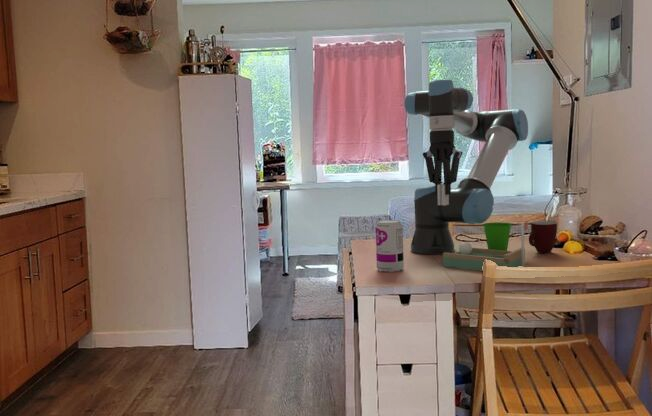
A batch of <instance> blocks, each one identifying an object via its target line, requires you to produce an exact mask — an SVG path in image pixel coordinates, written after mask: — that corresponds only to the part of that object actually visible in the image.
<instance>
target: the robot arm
mask: <svg viewBox="0 0 652 416" xmlns="http://www.w3.org/2000/svg"><path fill="white" fill-rule="evenodd" d="M473 102H474V96H473V93H472V92H471V91H470V90H469V89H467V88H463V87H455V86H454V82H453V80H452V79H449V78H447V79H446V78H442V79H441V78H440V79H434V80H431V81H429V82H428V90H422V91H421V90H420V91H414V92H409V93H408V94H406V95H405V97H404V109H405V111H406V113H407V114H408V115H410V116H411V115H415V116H416V115H422V116H424V117H427V118H429V120H428V121H429V129H430V130H431V131H429V144H430V146H429V149H428V150H427V151H426V152H422V156H423V159H424V160H425V164H426V170H427V174H428V180H429V181H428V182H429V183H432V184H434V185H430V186H429V185H428V186H422V187H419V188H418V187H417V188H415V191H414V198H413V199H414V200H413V202H414V227H415V228H414V230H415V231H414V233H413V236H412V240H411V242H410V252H412V253H415V254H421V255H441V254H442V255H443V253H444V252H445V253H454V252H455V243H454V241H453V237H452V234H451V231H450V227H449V226H450V225H449V223H457V224H459V223H460V224H468V225H476V224H479V225H480V224H485V223H486V222H487V221H488V220H489V219H490V217H491V215H492V213H493V210H494V205H495V202H494V201H495V200H494V199H495V198H494V195H493V193H492V190H491V187H492V186H493V183H494V182H495V180H496V177H497V176H498V175H497V174H498V173H499V171H500V169H501V167H502V165H503V163H504V161H505V159H506V156H507V155H508V152H509V151H511V150H513V149H514V148H515V147H516V145H517V144H518V142H520V141H521V142H523V141H526V140H527V139H528V136H529V121H528V117H527V115H526V113H525V111H524V110H523V109H519V108H517V109H516V108H515V109H514V108H512V109H502V110H501V109H499V110H490V111H489V110H488V111H472V110H469V109H470V108H472V107H471V106H472V105H473ZM453 129H454V130H455V131H456V133H457V134H459V135H460V136H463V137H465V138H468V139H471V140H473V141H478V142H483V143H484V145H483V146H482V149H481V150H480V152H479V154H478V156H477V158H476V160H475V162H474V164H473V166H472V167H471V170H470V172H469V174H468V175H467V177H466V178H463V179H462V180H460V181H459V182H458V185H457V187H456V188H452V186H451V185H452V184H453V183H456V182H457V178H458V173H459V166H460V159H461V157H462V155H463V151H461V150H457V149H456V146H455V145H454V144H455V143H454V142H455V131H454V130H453ZM451 157H452V158H451ZM442 172H443V175H442ZM442 176H443V177H442ZM442 179H443V180H442Z"/></svg>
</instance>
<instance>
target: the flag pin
mask: <svg viewBox="0 0 652 416" xmlns="http://www.w3.org/2000/svg"><path fill="white" fill-rule="evenodd" d="M520 226H521V228H520V229H521V234H520V235H521V236H520V237H521V239H520V240H521V241H520V242H521V245H520V246H521V247H520V248H521V249H522V266H523V267H526V263H525V264H524V249H525V231H526V230H528V221H525V222H521V224H520Z"/></svg>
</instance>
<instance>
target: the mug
mask: <svg viewBox="0 0 652 416" xmlns="http://www.w3.org/2000/svg"><path fill="white" fill-rule="evenodd" d="M557 229H558V222H555V221H549V220H547V221H546V220H544V221H543V220H542V221H532V222H530V232H531V233H530V234H529V235H528V243H529V245H530V246H532V247H534V249H535V250H536V252H537V253H538V254H543V255H544V254H550V253H551V252H552V250H553V248H554V246H555V244H556V238H557V231H558V230H557Z"/></svg>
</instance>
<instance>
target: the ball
mask: <svg viewBox="0 0 652 416" xmlns="http://www.w3.org/2000/svg"><path fill="white" fill-rule="evenodd" d="M472 248H473V246H472V244H471V243H470V242H468V241H467V242H466V241H464V242H461V243H460V244H459V247H458V250H459V251H460V253H461V254H465V255H468V254H470V253H471V251H472ZM459 251H458V252H459Z"/></svg>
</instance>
